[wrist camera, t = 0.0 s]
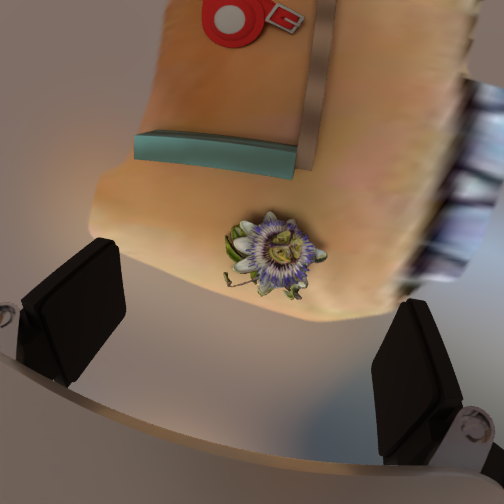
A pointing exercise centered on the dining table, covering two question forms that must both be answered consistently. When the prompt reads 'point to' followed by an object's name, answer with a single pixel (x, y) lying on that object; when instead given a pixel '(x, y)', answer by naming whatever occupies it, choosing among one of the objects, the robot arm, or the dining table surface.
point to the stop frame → (251, 150)
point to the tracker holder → (244, 20)
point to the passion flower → (272, 255)
